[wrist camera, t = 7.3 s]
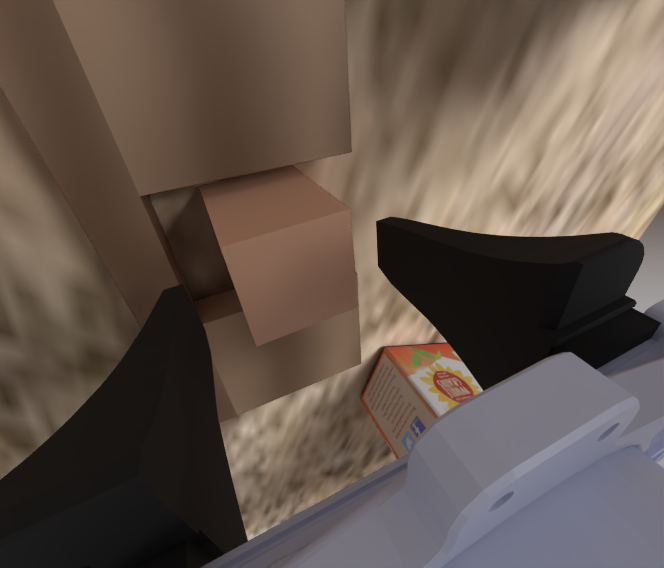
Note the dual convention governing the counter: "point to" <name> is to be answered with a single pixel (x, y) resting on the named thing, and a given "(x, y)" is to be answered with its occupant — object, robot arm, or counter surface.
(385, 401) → the cracker box
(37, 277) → the counter surface
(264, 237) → the terracotta plug
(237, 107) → the notched board
